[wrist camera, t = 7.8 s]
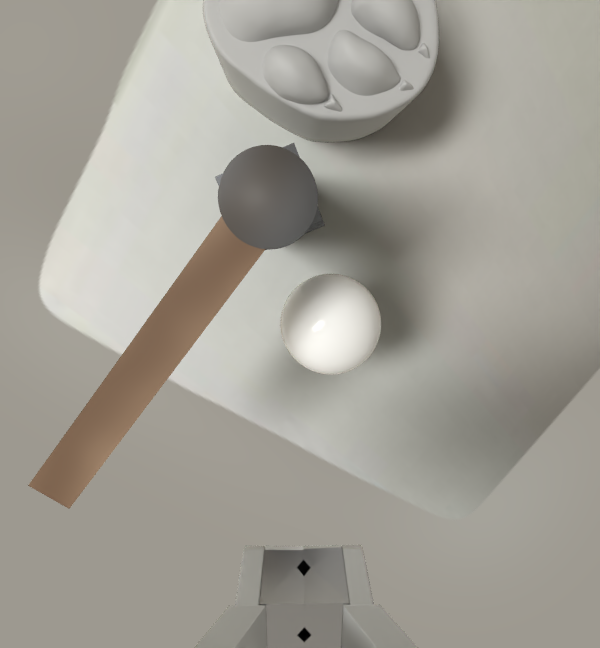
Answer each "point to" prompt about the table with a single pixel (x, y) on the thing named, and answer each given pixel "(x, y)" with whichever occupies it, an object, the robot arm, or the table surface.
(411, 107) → the table surface
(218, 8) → the lumpy-topped squat cylinder
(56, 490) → the hammer
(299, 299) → the lightbulb
